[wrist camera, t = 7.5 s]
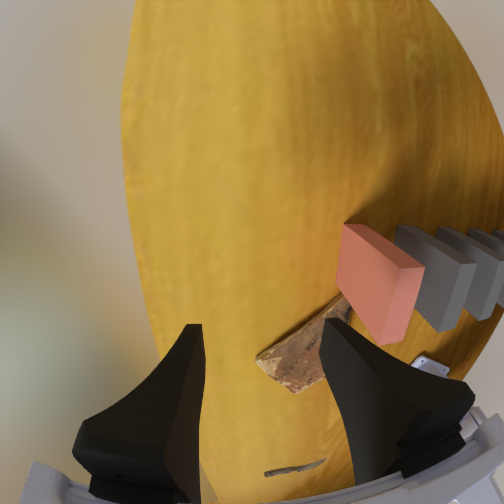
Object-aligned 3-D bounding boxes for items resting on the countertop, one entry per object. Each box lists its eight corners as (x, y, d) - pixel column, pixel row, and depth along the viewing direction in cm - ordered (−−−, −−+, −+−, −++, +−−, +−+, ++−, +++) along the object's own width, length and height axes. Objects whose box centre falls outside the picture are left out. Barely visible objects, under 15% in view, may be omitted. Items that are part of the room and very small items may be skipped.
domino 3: (478, 228, 21) (532, 258, 14) (467, 272, 23) (515, 308, 16) (469, 228, 21) (525, 258, 14) (458, 273, 23) (507, 311, 16)
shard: (349, 280, 22) (357, 290, 21) (382, 328, 25) (390, 339, 23) (250, 352, 24) (252, 365, 23) (296, 387, 27) (300, 399, 25)
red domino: (363, 224, 20) (425, 266, 13) (354, 282, 22) (402, 340, 15) (343, 223, 20) (400, 268, 13) (335, 283, 22) (378, 345, 14)
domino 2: (450, 227, 21) (510, 260, 14) (439, 275, 23) (490, 317, 15) (438, 226, 21) (499, 261, 13) (426, 276, 23) (478, 321, 15)
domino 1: (413, 225, 21) (477, 263, 13) (402, 278, 22) (454, 328, 15) (397, 225, 20) (461, 264, 13) (386, 280, 22) (438, 332, 15)
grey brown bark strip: (327, 464, 37) (335, 452, 36) (328, 469, 36) (337, 457, 35) (262, 474, 36) (266, 463, 34) (263, 480, 35) (267, 469, 33)
